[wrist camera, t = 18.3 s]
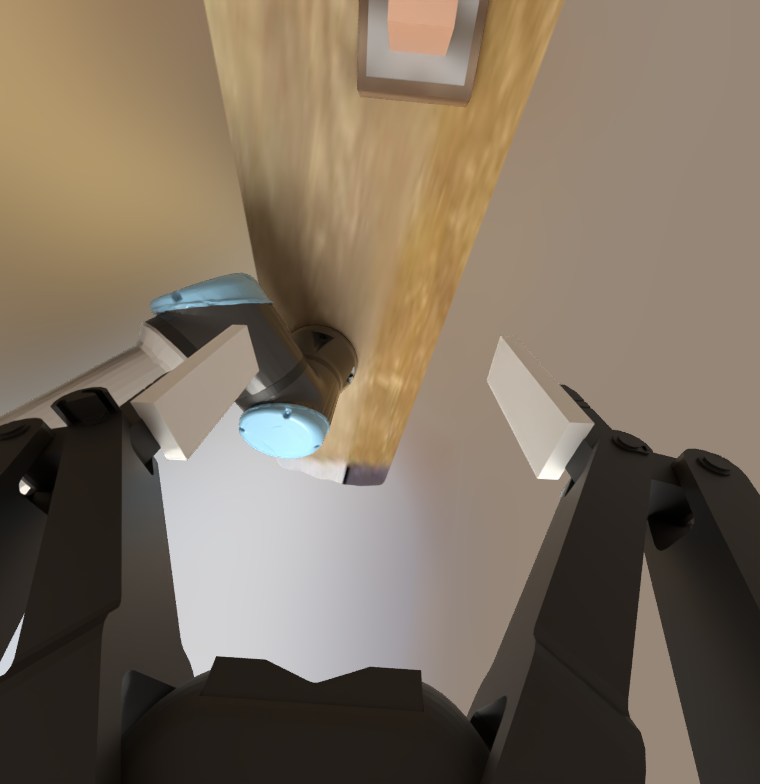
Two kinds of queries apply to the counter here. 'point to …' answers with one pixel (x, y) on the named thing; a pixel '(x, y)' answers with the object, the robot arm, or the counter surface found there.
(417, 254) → the counter surface
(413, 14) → the terracotta block
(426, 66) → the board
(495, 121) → the counter surface
